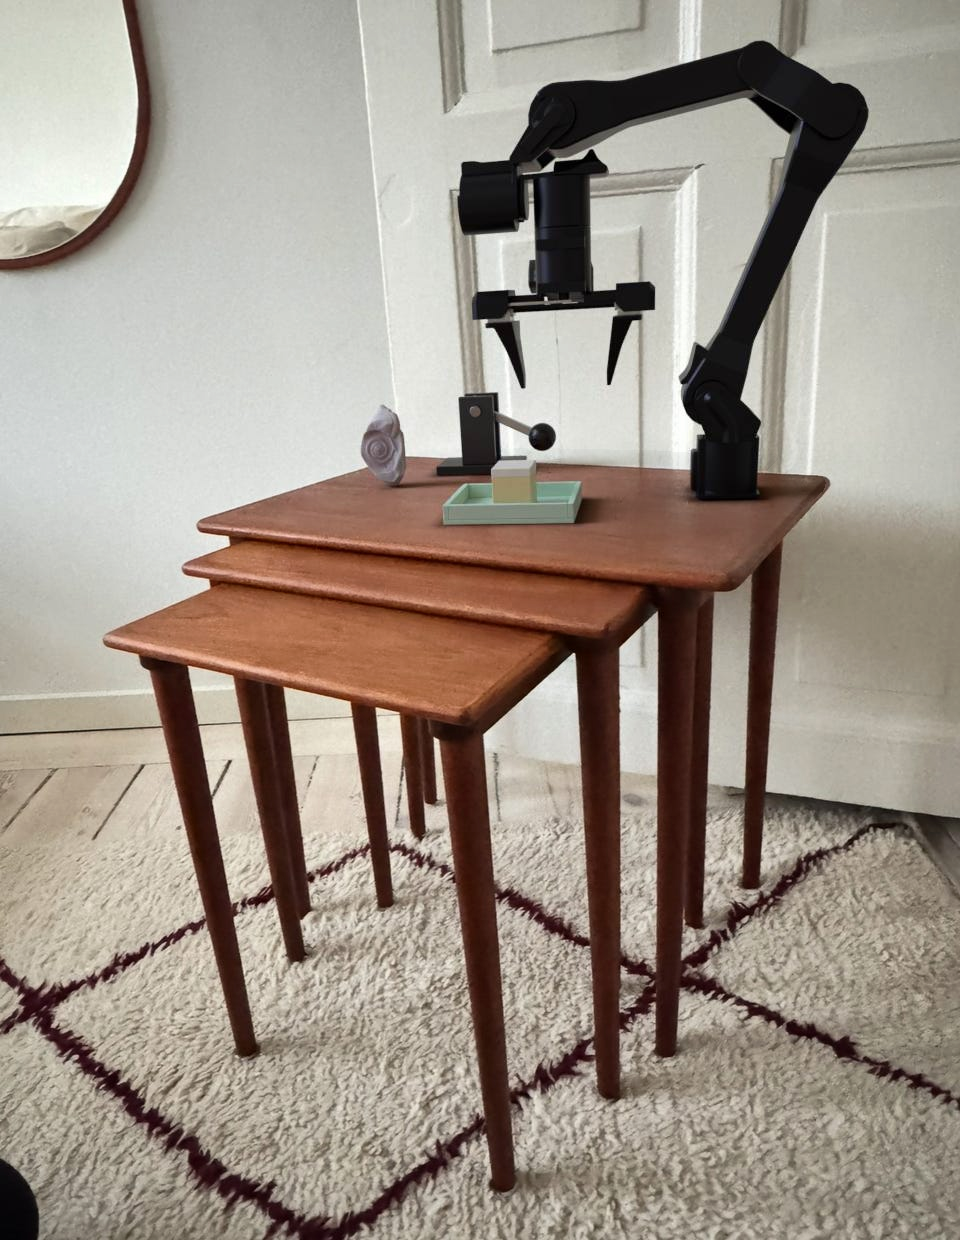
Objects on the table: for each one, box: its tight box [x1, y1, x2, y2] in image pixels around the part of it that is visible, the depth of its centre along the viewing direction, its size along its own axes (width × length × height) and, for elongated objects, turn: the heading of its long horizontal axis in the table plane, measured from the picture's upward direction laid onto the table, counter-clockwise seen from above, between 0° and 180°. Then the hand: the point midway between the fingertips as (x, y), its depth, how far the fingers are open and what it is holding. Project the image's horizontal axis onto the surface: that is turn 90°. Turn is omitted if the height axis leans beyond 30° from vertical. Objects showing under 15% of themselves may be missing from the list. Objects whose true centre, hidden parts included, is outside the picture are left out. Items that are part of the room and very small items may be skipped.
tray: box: [442, 480, 583, 526], centre depth 94 cm, size 13×11×2 cm
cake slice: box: [491, 459, 538, 504], centre depth 93 cm, size 4×5×4 cm
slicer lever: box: [474, 395, 557, 452], centre depth 116 cm, size 12×4×4 cm, turn 79°
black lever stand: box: [435, 391, 528, 477], centre depth 117 cm, size 11×7×10 cm, turn 80°
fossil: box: [360, 404, 407, 487], centre depth 110 cm, size 6×4×10 cm, turn 68°
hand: (565, 386), depth 96 cm, fingers open, 9 cm apart
